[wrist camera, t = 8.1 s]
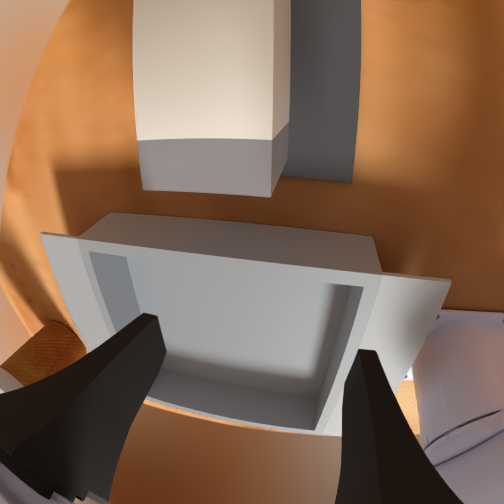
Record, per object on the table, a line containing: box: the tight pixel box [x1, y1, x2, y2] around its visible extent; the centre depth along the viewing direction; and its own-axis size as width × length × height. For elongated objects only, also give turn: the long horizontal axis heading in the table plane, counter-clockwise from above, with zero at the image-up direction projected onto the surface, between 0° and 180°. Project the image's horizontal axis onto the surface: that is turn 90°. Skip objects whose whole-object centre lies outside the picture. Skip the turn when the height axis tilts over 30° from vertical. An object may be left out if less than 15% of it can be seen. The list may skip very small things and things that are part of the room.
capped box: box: [133, 0, 291, 197], centre depth 11 cm, size 5×9×6 cm, turn 0°
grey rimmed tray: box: [40, 212, 452, 436], centre depth 21 cm, size 26×18×4 cm
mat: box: [280, 0, 361, 183], centre depth 13 cm, size 12×12×1 cm
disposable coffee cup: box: [0, 320, 86, 394], centre depth 26 cm, size 10×10×12 cm
